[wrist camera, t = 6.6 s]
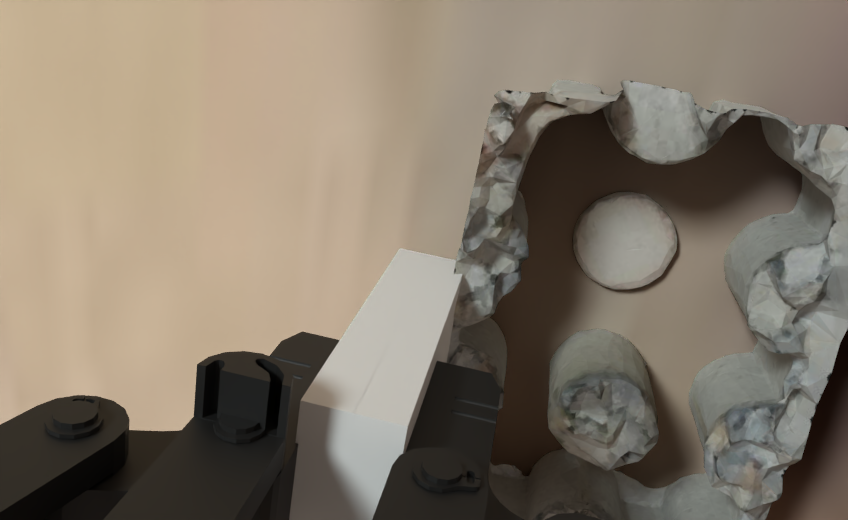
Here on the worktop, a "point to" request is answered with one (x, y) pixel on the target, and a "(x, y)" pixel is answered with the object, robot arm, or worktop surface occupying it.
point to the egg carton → (640, 265)
